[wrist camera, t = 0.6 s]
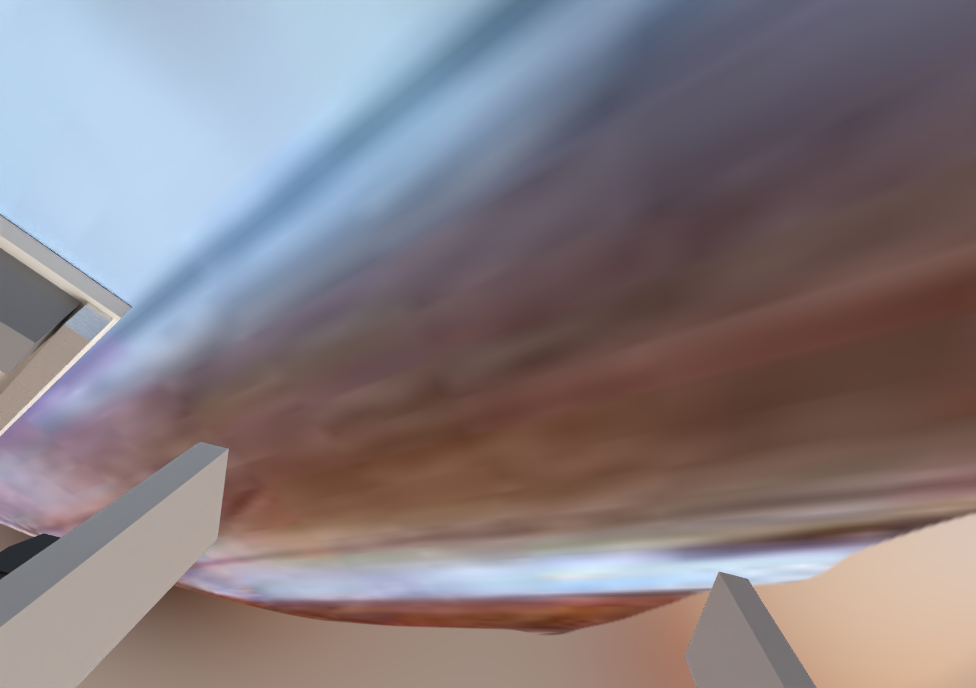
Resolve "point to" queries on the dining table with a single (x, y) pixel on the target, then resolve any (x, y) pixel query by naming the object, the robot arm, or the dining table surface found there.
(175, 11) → the dining table surface
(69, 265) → the mounting board
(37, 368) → the metal rail
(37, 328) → the block
